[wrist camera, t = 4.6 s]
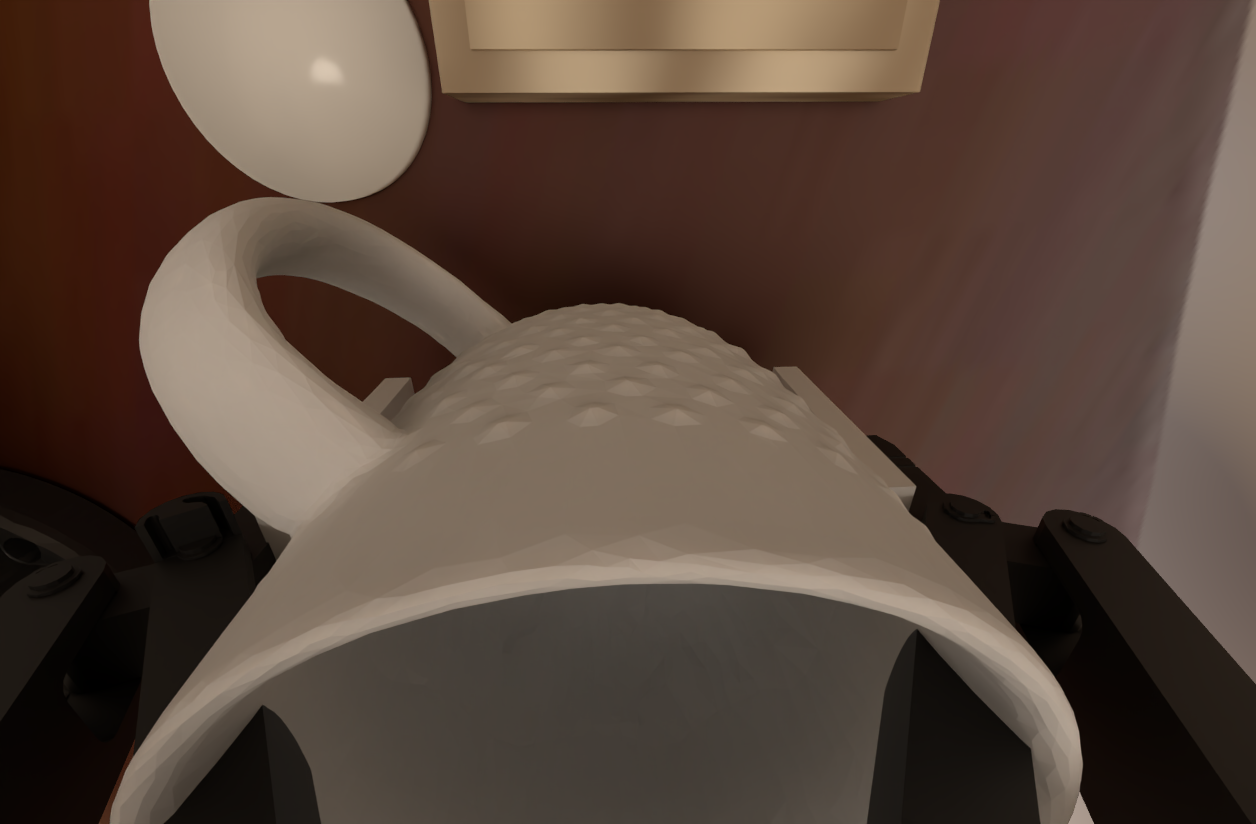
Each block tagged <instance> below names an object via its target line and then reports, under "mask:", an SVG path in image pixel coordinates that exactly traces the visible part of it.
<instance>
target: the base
mask: <svg viewBox="0 0 1256 824" xmlns="http://www.w3.org/2000/svg"><path fill="white" fill-rule="evenodd" d="M939 2H940V0H429V5H430V12H431V19H432V26H433V33H434V40H435V46H436V53H437V60H438V67H439V74H440V80H441V87H442V93H444V94H446V95H449V96H451V97H453V98H456V99H458V100H460V101H463V102H465V103H474V102H879V101H883V100H887V99H892V98H896V97H900V96H905V95H909V94H913V93H917V92H920V88H921V84H922V79H923V75H924V70H925V66H926V61H927V57H928V52H929V47H930V43H931V38H932V34H933V29H934V25H935V20H936V16H937V11H938V6H939Z"/></svg>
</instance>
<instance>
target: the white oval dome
mask: <svg viewBox="0 0 1256 824" xmlns="http://www.w3.org/2000/svg"><path fill="white" fill-rule="evenodd" d="M149 7H150V16H151V25H152V30H153V35H154V39H155V44H156V48H157V51H158V54H159V57H160V60H161V63H162V66H163V69H164V71H165V73H166V76H167V78H168V80H169V82H170V85H171V87H172V89H173V91H174V93H175V94H176V96H177V98H178V100H179V102H180V103H181V105H182V107H183V108H184V110H185V111H186V113H187V114H188V116H189V117H190V119H191V120H192V122H193V123H194V124H195V126H196V127H197V128H198V129H199V131H200V132H201V133H202V134H203V135H204V137H205V138H206V139H207V140H208V141H209V142H210V143H211V145H212V146H213V147H214V148H215V149H216V150H217V151H218V152H219V153H220V154H221V155H222V156H224V157H225V158H226V159H227V160H228V161H229V162H231V163H232V164H233V165H234V166H235V167H237V168H238V169H239V170H241V171H242V172H244V173H245V174H247V175H248V176H249V177H251V178H252V179H254V180H256V181H258V182H259V183H261V184H263V185H265V186H267V187H268V188H271V189H273V190H275V191H278V192H280V193H282V194H285V195H288V196H291V197H295V198H298V199H302V200H308V201H314V202H341V201H349V200H355V199H359V198H363V197H367V196H370V195H372V194H374V193H377V192H379V191H381V190H383V189H385V188H386V187H388V186H389V185H391V184H392V183H394V182H395V181H396V180H397V179H398V178H399V177H400V176H401V175H402V174H403V173H404V172H405V171H406V170H407V169H408V167H409V166H410V165H411V163H412V162H413V161H414V159H415V157H416V155H417V154H418V152H419V150H420V148H421V146H422V143H423V140H424V138H425V135H426V132H427V128H428V124H429V119H430V113H431V103H432V80H431V72H430V65H429V59H428V55H427V51H426V46H425V42H424V39H423V36H422V33H421V30H420V28H419V25H418V22H417V20H416V18H415V15H414V13H413V11H412V9H411V7H410V5H409V2H408V1H407V0H149Z"/></svg>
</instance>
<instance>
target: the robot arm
mask: <svg viewBox="0 0 1256 824" xmlns="http://www.w3.org/2000/svg"><path fill="white" fill-rule="evenodd" d="M773 373H775V374H776V376H777V377H778V379H779V380H780V382H781V383H782V385H783V386H784V387H785V388H786V389H787V390H789V391H791V392H792V393H794V394H796V395H798V396H800V397H802V399H803V400H804V401H805V402H806V404H807V406H808V407H809V409H810V410H811V411H812V412H813V413H814V414H815V415H816V416H817V417H818V419H820V420H821V421H823V422H824V423H826V424H827V425H829V426H831V427H832V428H834V429H835V430H836V431H837V433H838V434H839V435H840V436H841V437H842V438H843V439H844V441H845V442H846V444H847V446H848V447H849V449H850V450H851V452H852V453H853V454H854V455H855V456H856V457H857V458H858V459H859V460H860V461H862V462H863V463H864V464H865V465H866V466H868V467H869V468H870V469H871V470H873V472H874V473H876V474H877V475H878V476H880V477H881V478H882V479H883V480H884V481H885V483H886V484H887V486H888V488H889V489H891V490H893V491H894V492H895V493H896V494H897V495H898V497H899V498H900V500H901V501H902V503H903V504H904V506H905V507H906V509H907V510H908V512H909V513H910V514H911V515H912V516H913V517H914V518H916V519H917V520H919V521H920V522H921V523H923V524H924V525H925V526H926V527H927V528H928V529H929V531H930V533H931V534H932V536H933V538H934V540H935V541H936V542H937V544H938V545H939V546H940V547H941V548H942V549H943V550H944V551H945V552H946V553H947V554H948V555H949V557H950V558H951V559H952V560H953V561H954V562H955V563H956V564H957V565H958V566H959V567H960V568H961V570H962V571H963V572H964V573H965V574H966V575H967V576H968V577H969V578H970V579H971V580H972V582H973V583H974V584H975V585H976V586H977V587H978V588H979V589H980V590H981V592H982V593H983V594H984V595H985V596H986V597H987V598H988V599H989V600H990V602H991V603H992V604H993V605H994V606H995V607H996V608H997V609H998V610H999V612H1000V613H1001V614H1002V615H1003V616H1004V617H1005V618H1006V619H1007V620H1008V622H1009V623H1010V624H1011V625H1012V626H1013V627H1014V628H1015V629H1016V630H1017V632H1018V633H1019V634H1020V635H1021V636H1022V637H1023V638H1024V639H1025V640H1026V642H1027V643H1028V644H1029V645H1030V646H1031V647H1032V648H1033V650H1034V651H1035V652H1036V653H1037V655H1038V656H1039V657H1040V658H1041V660H1042V661H1043V662H1044V663H1045V665H1046V666H1047V667H1048V668H1049V670H1050V671H1051V672H1052V674H1053V675H1054V677H1055V679H1056V680H1057V682H1058V683H1059V685H1060V686H1061V688H1062V690H1063V692H1064V694H1065V696H1066V698H1067V700H1068V702H1069V704H1070V706H1071V708H1072V710H1073V712H1074V716H1075V719H1076V723H1077V726H1078V730H1079V735H1080V747H1081V754H1082V761H1083V768H1082V777H1081V783H1080V793H1081V796H1082V798H1083V800H1084V802H1085V804H1086V807H1087V809H1088V811H1089V813H1090V816H1091V818H1092V820H1093V822H1094V824H1256V684H1255V683H1254V682H1253V681H1252V680H1251V678H1250V677H1249V676H1248V675H1247V674H1246V673H1245V672H1244V671H1243V669H1242V668H1241V667H1240V666H1239V665H1238V664H1237V663H1236V661H1235V660H1234V659H1233V658H1232V657H1231V656H1230V655H1229V653H1227V651H1226V650H1225V649H1224V648H1223V647H1222V646H1221V644H1220V643H1219V642H1218V641H1217V640H1216V639H1215V638H1214V637H1213V635H1212V634H1211V633H1210V632H1209V631H1208V630H1207V628H1206V627H1205V626H1204V625H1203V624H1202V623H1201V622H1200V620H1198V618H1197V617H1196V616H1195V615H1194V614H1193V613H1192V612H1191V610H1190V609H1189V608H1188V607H1187V606H1186V605H1185V603H1184V602H1183V601H1182V600H1181V599H1180V598H1179V597H1178V596H1177V595H1176V593H1175V592H1174V591H1173V590H1172V589H1171V588H1170V586H1169V585H1168V584H1167V583H1166V582H1165V581H1164V580H1163V579H1162V577H1161V576H1160V575H1159V574H1158V573H1157V572H1156V571H1155V569H1154V568H1153V567H1152V566H1151V565H1150V564H1149V563H1148V562H1147V560H1146V559H1145V558H1144V557H1143V556H1142V555H1141V553H1140V552H1139V551H1138V550H1137V549H1136V548H1135V547H1134V546H1133V544H1132V543H1131V542H1130V541H1129V540H1128V539H1127V538H1126V537H1125V536H1124V535H1123V534H1122V533H1121V532H1120V531H1118V530H1117V529H1116V528H1114V527H1113V526H1111V525H1109V524H1107V523H1105V522H1104V521H1102V520H1101V519H1099V518H1097V517H1094V516H1093V517H1092V516H1091V515H1089V514H1085V513H1082V512H1080V513H1079V512H1075V511H1071V510H1057V509H1055V510H1051V511H1047V512H1046V513H1045V515H1044V516H1043V518H1042V520H1041V522H1040V524H1039V526H1038V528H1037V527H1031V526H1024V525H1018V524H1011V523H1005V522H1001V520H1000V518H999V516H998V514H996V513H995V512H994V511H993V510H992V509H991V508H990V507H988V506H986V505H984V504H982V503H981V502H979V501H977V500H974V499H971V498H968V497H965V496H961V495H956V494H946V493H945V492H944V491H943V490H942V489H941V488H940V487H938V486H937V485H936V484H935V483H934V482H933V481H932V480H931V479H930V478H929V477H928V476H927V475H926V474H925V473H924V472H922V471H921V470H920V469H919V468H918V467H915V464H914V463H913V462H912V461H911V460H910V459H909V458H906V456H905V455H904V454H903V453H902V452H901V451H900V450H899V449H898V448H897V447H896V446H895V445H893V444H892V443H890V442H888V441H886V440H884V439H882V438H880V437H878V436H877V435H869V436H866V435H865V434H864V433H863V432H862V431H861V430H860V429H859V428H858V427H857V426H856V425H855V424H854V423H853V422H852V421H851V420H850V419H849V418H848V417H847V416H846V415H845V414H844V413H843V412H842V411H841V410H840V409H839V408H838V407H837V406H836V405H835V404H834V403H833V402H832V401H831V400H830V399H829V398H828V397H827V396H826V395H825V394H824V393H823V392H822V391H821V390H820V389H819V388H818V387H817V386H816V385H815V384H814V383H813V382H812V381H811V380H810V379H809V378H808V377H807V376H806V375H805V374H804V373H803V372H802V371H801V370H800V369H799V368H798V367H773ZM413 395H414V389H413V385H412V380H411V378H385V379H384V380H383V381H382V382H381V383H380V384H379V386H378V387H377V388H376V389H375V390H374V391H373V392H372V393H371V394H370V395H369V396H368V397H367V398H366V399H365V400H364V401H363V403H365V404H366V405H368V406H369V407H371V408H372V409H373V410H375V411H376V412H378V413H379V414H381V415H382V416H384V417H385V418H386V419H388V420H389V421H391V420H392V419H393V418H394V417H395V416H396V415H397V414H398V413H399V412H400V411H401V409H402V408H403V406H404V405H405V403H406V401H407V400H408V399H409V398H410V397H411V396H413ZM134 528H135V530H136V531H137V532H136V531H134V530H133V529H132V528H131V527H129V526H128V525H126V524H125V523H124V522H122V521H121V520H119V519H118V518H116V517H115V516H113V515H112V514H110V513H108V512H107V511H105V510H103V509H102V508H100V507H98V506H97V505H95V504H93V503H91V502H89V501H87V500H85V499H83V498H81V497H79V496H77V495H75V494H73V493H71V492H69V491H66V490H64V489H61V488H59V487H57V486H54V485H52V484H49V483H46V482H43V481H41V480H38V479H35V478H32V477H28V476H25V475H22V474H18V473H14V472H11V471H7V470H2V469H0V824H99V821H100V819H101V817H102V814H103V812H104V810H105V807H106V805H107V803H108V800H109V798H110V796H111V793H112V791H113V789H114V786H115V784H116V782H117V779H118V777H119V775H120V772H121V770H122V768H123V765H124V763H125V761H126V758H127V756H128V754H129V751H130V749H131V747H132V744H133V742H134V740H135V746H134V755H135V754H136V752H137V751H138V749H139V748H140V746H141V745H142V743H143V742H144V740H145V739H146V737H147V736H148V734H149V733H150V731H151V729H152V728H153V726H154V725H155V723H156V722H157V720H158V719H159V717H160V716H161V714H162V713H163V711H164V710H165V709H166V707H167V706H168V705H169V703H170V702H171V701H172V699H173V698H174V697H175V695H176V694H177V693H178V691H179V690H180V689H181V687H182V686H183V685H184V683H185V682H186V681H187V679H188V678H189V677H190V675H191V674H192V673H193V671H194V670H195V669H196V667H197V666H198V665H199V663H200V662H201V661H202V660H203V658H204V657H205V656H206V654H207V653H208V652H209V650H210V649H211V648H212V646H213V645H214V644H215V642H216V641H217V640H218V638H219V637H220V636H221V634H222V633H223V632H224V630H225V629H226V628H227V626H228V625H229V624H230V622H231V621H232V620H233V619H234V617H235V616H236V615H237V613H238V612H239V611H240V609H241V608H242V607H243V606H244V604H245V603H246V602H247V600H248V599H249V598H250V596H251V595H252V594H253V593H254V591H255V589H256V587H257V585H258V584H259V583H260V582H261V581H262V579H263V578H264V577H265V576H266V575H267V574H268V573H269V571H270V570H271V568H272V567H273V565H274V564H275V562H276V561H277V560H278V558H279V557H280V555H281V554H282V552H283V551H284V549H285V548H286V546H287V545H288V543H289V542H290V541H291V537H290V535H289V534H287V533H284V532H282V531H280V530H277V529H275V528H274V527H272V526H270V525H269V524H267V523H266V522H264V521H263V520H261V519H260V518H258V517H256V516H255V515H253V514H252V513H251V512H250V511H249V510H248V509H247V508H246V507H244V506H243V507H242V508H241V509H240V510H239V511H238V512H237V513H235V514H233V512H232V510H231V508H230V505H229V503H228V501H227V499H226V498H225V496H224V495H223V494H220V493H216V492H199V493H195V494H190V495H185V496H182V497H179V498H176V499H174V500H171V501H168V502H166V503H164V504H162V505H160V506H158V507H156V508H154V509H152V510H150V511H149V512H148V513H147V514H145V515H144V516H143V517H142V518H140V519H139V521H138V522H137V524H136V526H135V527H134ZM134 755H133V757H134ZM164 824H321V820H320V815H319V809H318V804H317V799H316V793H315V788H314V783H313V777H312V772H311V769H310V766H309V764H308V762H307V760H306V758H305V756H304V754H303V752H302V750H301V748H300V746H299V744H298V743H297V741H296V739H295V738H294V736H293V735H292V733H291V732H290V730H289V729H288V727H287V726H286V724H285V723H284V722H283V720H282V719H281V718H280V717H279V716H278V715H277V714H276V713H275V712H274V711H272V710H270V709H268V708H267V707H266V706H264V705H262V706H261V707H260V709H259V710H258V711H257V713H256V714H255V715H254V717H253V718H252V719H251V720H250V722H249V723H248V724H247V725H246V727H245V728H244V729H243V730H242V732H241V733H240V734H239V735H238V737H237V738H236V739H235V740H234V742H233V743H232V744H231V745H230V747H229V748H228V749H227V750H226V752H225V753H224V754H223V755H222V757H221V758H220V759H219V760H218V762H217V763H216V764H215V765H214V766H213V768H212V769H211V770H210V771H209V772H208V773H207V775H206V776H205V777H204V778H203V779H202V780H201V782H200V783H199V784H198V785H197V786H196V788H195V789H194V790H193V791H192V792H191V794H190V795H189V796H188V797H187V798H186V800H185V801H184V802H183V803H182V804H181V806H180V807H179V808H178V809H177V811H176V812H175V813H174V814H173V815H172V816H171V817H170V818H169V819H168V820H167V821H166V822H165V823H164ZM867 824H1041V823H1040V815H1039V807H1038V800H1037V792H1036V784H1035V776H1034V768H1033V761H1032V753H1031V748H1030V747H1029V746H1028V745H1026V744H1025V743H1024V742H1023V741H1022V740H1021V739H1020V738H1019V737H1018V736H1017V735H1016V734H1015V733H1014V732H1013V731H1012V730H1011V729H1010V728H1009V727H1008V726H1007V725H1006V724H1005V723H1004V722H1003V721H1002V720H1001V719H1000V718H999V717H998V716H997V715H996V714H995V713H994V712H993V711H992V710H991V709H990V708H989V707H988V706H987V705H986V704H985V703H984V702H983V701H982V700H981V699H980V698H979V697H978V696H977V695H976V694H975V693H974V692H973V691H972V689H971V688H970V687H969V686H968V685H967V684H966V683H965V682H964V681H963V680H962V679H961V678H960V676H959V675H958V674H957V673H956V672H955V671H954V670H953V669H952V668H951V667H950V666H949V665H948V663H947V662H946V661H945V660H944V659H943V658H942V657H941V656H940V655H939V654H938V653H937V652H936V650H935V649H934V648H933V647H932V646H931V644H930V643H929V642H928V641H927V640H926V639H925V637H924V636H923V635H922V634H921V633H920V632H919V630H918V629H916V630H915V631H913V632H912V634H911V635H910V636H909V637H908V638H907V640H906V642H905V643H904V645H903V647H902V649H901V651H900V653H899V655H898V657H897V659H896V661H895V664H894V666H893V669H892V671H891V674H890V677H889V679H888V682H887V685H886V688H885V691H884V698H883V706H882V713H881V721H880V728H879V736H878V743H877V750H876V758H875V765H874V773H873V780H872V788H871V795H870V803H869V810H868V817H867Z"/></svg>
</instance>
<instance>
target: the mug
mask: <svg viewBox="0 0 1256 824" xmlns="http://www.w3.org/2000/svg"><path fill="white" fill-rule="evenodd" d="M271 275H289V276H298V277H305V278H310V279H314V280H318V281H321V282H325V283H328V284H331V285H334V286H336V287H339V288H341V289H344V290H346V291H349V292H351V293H354V294H356V295H358V296H361V297H363V298H366V299H368V300H370V301H372V302H374V303H376V304H379V305H381V306H382V307H384V308H386V309H388V310H390V311H391V312H393V313H395V314H397V315H399V316H400V317H402V318H404V319H405V320H407V321H409V322H411V323H412V324H414V325H416V326H417V327H419V328H420V329H421V330H423V331H424V332H426V333H427V334H429V335H430V336H431V337H433V338H434V339H435V340H436V341H437V342H439V343H440V344H441V345H443V346H444V347H446V348H447V349H448V350H449V351H450V352H451V353H452V354H453V355H454V356H456V357H457V358H456V359H455V360H454V362H453V363H451V364H450V365H448V366H447V367H446V368H444V369H442V370H440V371H439V372H437V373H436V374H434V375H433V376H432V377H431V379H430V380H429V382H428V383H427V385H426V386H425V387H424V388H423V389H422V390H420V391H419V392H417V393H416V394H414V395H413V396H411V397H410V398H409V399H408V400H407V401H406V403H405V405H404V406H403V408H402V409H401V411H400V412H399V413H398V414H397V415H396V416H395V417H394V418H393V419H392V420H391V421H389V420H388V419H386V418H385V417H384V416H382V415H381V414H379V413H378V412H376V411H375V410H373V409H372V408H371V407H369V406H368V405H366V404H365V403H363V402H362V401H360V400H359V399H357V398H356V397H354V396H353V395H351V394H350V393H348V392H347V391H346V390H344V389H343V388H341V387H340V386H338V385H337V384H335V383H334V382H333V381H331V380H330V379H329V378H327V377H326V376H325V375H324V374H323V373H322V372H321V371H320V370H318V369H317V368H316V367H315V366H314V365H313V364H312V363H311V362H310V361H308V360H307V359H306V358H305V357H304V356H303V355H302V354H301V353H299V352H298V351H297V350H296V349H295V348H294V347H293V346H292V345H291V344H289V343H288V342H287V341H286V340H285V338H284V336H283V335H282V333H281V331H280V330H279V329H278V327H277V326H276V325H275V323H274V322H273V321H272V319H271V318H270V317H269V315H268V314H267V313H266V311H265V308H264V306H263V304H262V301H261V297H260V292H259V290H258V288H257V281H256V278H260V277H264V276H271ZM139 345H140V352H141V357H142V361H143V365H144V369H145V372H146V374H147V377H148V380H149V383H150V386H151V388H152V391H153V393H154V395H155V396H156V398H157V400H158V402H159V404H160V405H161V407H162V409H163V411H164V413H165V414H166V416H167V418H168V420H169V422H170V424H171V425H172V427H173V428H174V430H175V431H176V432H177V434H178V435H179V437H180V438H181V439H182V441H183V442H184V443H185V445H186V446H187V448H188V449H189V450H190V452H191V453H192V454H193V456H194V457H195V459H196V460H197V461H198V462H199V463H200V464H201V465H202V466H203V467H204V468H205V470H206V471H207V472H208V473H209V474H210V475H211V476H212V477H213V478H214V479H215V480H216V481H217V482H218V483H219V484H220V485H221V486H222V487H223V488H224V489H225V490H227V491H228V492H229V493H230V494H231V495H232V496H233V497H234V498H235V499H237V500H238V501H239V502H240V503H241V504H242V505H243V506H244V507H246V508H247V509H248V510H249V511H250V512H251V513H252V514H253V515H255V516H256V517H258V518H260V519H261V520H263V521H264V522H266V523H267V524H269V525H270V526H272V527H274V528H275V529H277V530H280V531H282V532H284V533H287V534H289V535H290V537H291V541H290V542H289V543H288V545H287V546H286V548H285V549H284V551H283V552H282V554H281V555H280V557H279V558H278V560H277V561H276V562H275V564H274V565H273V567H272V568H271V570H270V571H269V573H268V574H267V575H266V576H265V577H264V578H263V579H262V581H261V582H260V583H259V584H258V585H257V587H256V589H255V591H254V593H253V594H252V595H251V596H250V598H249V599H248V600H247V602H246V603H245V604H244V606H243V607H242V608H241V609H240V611H239V612H238V613H237V615H236V616H235V617H234V619H233V620H232V621H231V622H230V624H229V625H228V626H227V628H226V629H225V630H224V632H223V633H222V634H221V636H220V637H219V638H218V640H217V641H216V642H215V644H214V645H213V646H212V648H211V649H210V650H209V652H208V653H207V654H206V656H205V657H204V658H203V660H202V661H201V662H200V663H199V665H198V666H197V667H196V669H195V670H194V671H193V673H192V674H191V675H190V677H189V678H188V679H187V681H186V682H185V683H184V685H183V686H182V687H181V689H180V690H179V691H178V693H177V694H176V695H175V697H174V698H173V699H172V701H171V702H170V703H169V705H168V706H167V707H166V709H165V710H164V711H163V713H162V714H161V716H160V717H159V719H158V720H157V722H156V723H155V725H154V726H153V728H152V729H151V731H150V733H149V734H148V736H147V737H146V739H145V740H144V742H143V743H142V745H141V746H140V748H139V749H138V751H137V752H136V754H135V755H134V757H133V759H132V760H131V762H130V764H129V766H128V768H127V769H126V771H125V774H124V777H123V780H122V782H121V785H120V787H119V790H118V792H117V795H116V798H115V800H114V803H113V805H112V810H111V816H110V824H164V823H165V822H166V821H167V820H168V819H169V818H170V817H171V816H172V815H173V814H174V813H175V812H176V811H177V809H178V808H179V807H180V806H181V804H182V803H183V802H184V801H185V800H186V798H187V797H188V796H189V795H190V794H191V792H192V791H193V790H194V789H195V788H196V786H197V785H198V784H199V783H200V782H201V780H202V779H203V778H204V777H205V776H206V775H207V773H208V772H209V771H210V770H211V769H212V768H213V766H214V765H215V764H216V763H217V762H218V760H219V759H220V758H221V757H222V755H223V754H224V753H225V752H226V750H227V749H228V748H229V747H230V745H231V744H232V743H233V742H234V740H235V739H236V738H237V737H238V735H239V734H240V733H241V732H242V730H243V729H244V728H245V727H246V725H247V724H248V723H249V722H250V720H251V719H252V718H253V717H254V715H255V714H256V713H257V711H258V710H259V709H260V707H261V706H262V705H264V706H266V707H267V708H268V709H270V710H272V711H274V712H275V713H276V714H277V715H278V716H279V717H280V718H281V719H282V720H283V722H284V723H285V724H286V726H287V727H288V729H289V730H290V732H291V733H292V735H293V736H294V738H295V739H296V741H297V743H298V744H299V746H300V748H301V750H302V752H303V754H304V756H305V758H306V760H307V762H308V764H309V766H310V769H311V772H312V777H313V783H314V788H315V793H316V799H317V804H318V809H319V815H320V820H321V824H867V817H868V810H869V803H870V795H871V788H872V780H873V773H874V765H875V758H876V750H877V743H878V736H879V728H880V721H881V713H882V706H883V698H884V691H885V688H886V685H887V682H888V679H889V677H890V674H891V671H892V669H893V666H894V664H895V661H896V659H897V657H898V655H899V653H900V651H901V649H902V647H903V645H904V643H905V642H906V640H907V638H908V637H909V636H910V635H911V634H912V632H913V631H915V630H916V629H918V630H919V632H920V633H921V634H922V635H923V636H924V637H925V639H926V640H927V641H928V642H929V643H930V644H931V646H932V647H933V648H934V649H935V650H936V652H937V653H938V654H939V655H940V656H941V657H942V658H943V659H944V660H945V661H946V662H947V663H948V665H949V666H950V667H951V668H952V669H953V670H954V671H955V672H956V673H957V674H958V675H959V676H960V678H961V679H962V680H963V681H964V682H965V683H966V684H967V685H968V686H969V687H970V688H971V689H972V691H973V692H974V693H975V694H976V695H977V696H978V697H979V698H980V699H981V700H982V701H983V702H984V703H985V704H986V705H987V706H988V707H989V708H990V709H991V710H992V711H993V712H994V713H995V714H996V715H997V716H998V717H999V718H1000V719H1001V720H1002V721H1003V722H1004V723H1005V724H1006V725H1007V726H1008V727H1009V728H1010V729H1011V730H1012V731H1013V732H1014V733H1015V734H1016V735H1017V736H1018V737H1019V738H1020V739H1021V740H1022V741H1023V742H1024V743H1025V744H1026V745H1028V746H1029V747H1030V748H1031V753H1032V761H1033V768H1034V776H1035V784H1036V792H1037V800H1038V807H1039V815H1040V823H1041V824H1068V822H1069V820H1070V818H1071V816H1072V814H1073V811H1074V808H1075V805H1076V801H1077V798H1078V795H1079V792H1080V783H1081V777H1082V768H1083V761H1082V754H1081V747H1080V735H1079V730H1078V726H1077V723H1076V719H1075V716H1074V712H1073V710H1072V708H1071V706H1070V704H1069V702H1068V700H1067V698H1066V696H1065V694H1064V692H1063V690H1062V688H1061V686H1060V685H1059V683H1058V682H1057V680H1056V679H1055V677H1054V675H1053V674H1052V672H1051V671H1050V670H1049V668H1048V667H1047V666H1046V665H1045V663H1044V662H1043V661H1042V660H1041V658H1040V657H1039V656H1038V655H1037V653H1036V652H1035V651H1034V650H1033V648H1032V647H1031V646H1030V645H1029V644H1028V643H1027V642H1026V640H1025V639H1024V638H1023V637H1022V636H1021V635H1020V634H1019V633H1018V632H1017V630H1016V629H1015V628H1014V627H1013V626H1012V625H1011V624H1010V623H1009V622H1008V620H1007V619H1006V618H1005V617H1004V616H1003V615H1002V614H1001V613H1000V612H999V610H998V609H997V608H996V607H995V606H994V605H993V604H992V603H991V602H990V600H989V599H988V598H987V597H986V596H985V595H984V594H983V593H982V592H981V590H980V589H979V588H978V587H977V586H976V585H975V584H974V583H973V582H972V580H971V579H970V578H969V577H968V576H967V575H966V574H965V573H964V572H963V571H962V570H961V568H960V567H959V566H958V565H957V564H956V563H955V562H954V561H953V560H952V559H951V558H950V557H949V555H948V554H947V553H946V552H945V551H944V550H943V549H942V548H941V547H940V546H939V545H938V544H937V542H936V541H935V540H934V538H933V536H932V534H931V533H930V531H929V529H928V528H927V527H926V526H925V525H924V524H923V523H921V522H920V521H919V520H917V519H916V518H914V517H913V516H912V515H911V514H910V513H909V512H908V510H907V509H906V507H905V506H904V504H903V503H902V501H901V500H900V498H899V497H898V495H897V494H896V493H895V492H894V491H893V490H891V489H889V488H888V486H887V484H886V483H885V481H884V480H883V479H882V478H881V477H880V476H878V475H877V474H876V473H874V472H873V470H871V469H870V468H869V467H868V466H866V465H865V464H864V463H863V462H862V461H860V460H859V459H858V458H857V457H856V456H855V455H854V454H853V453H852V452H851V450H850V449H849V447H848V446H847V444H846V442H845V441H844V439H843V438H842V437H841V436H840V435H839V434H838V433H837V431H836V430H835V429H834V428H832V427H831V426H829V425H827V424H826V423H824V422H823V421H821V420H820V419H818V417H817V416H816V415H815V414H814V413H813V412H812V411H811V410H810V409H809V407H808V406H807V404H806V402H805V401H804V400H803V399H802V397H800V396H798V395H796V394H794V393H792V392H791V391H789V390H787V389H786V388H785V387H784V386H783V385H782V383H781V382H780V380H779V379H778V377H777V376H776V374H775V373H773V372H771V371H769V370H767V369H765V368H763V367H760V366H759V365H757V364H756V363H755V362H754V361H752V360H751V358H750V357H749V355H748V354H747V353H746V351H745V350H744V349H742V348H740V347H737V346H733V345H730V344H728V343H726V342H725V341H724V340H723V339H722V338H720V337H719V336H718V335H717V334H716V333H715V332H713V331H709V330H706V329H705V328H702V327H697V326H696V325H695V324H692V323H690V322H689V321H687V320H686V319H684V318H681V317H677V316H673V315H668V314H667V313H665V312H663V311H661V310H651V309H649V308H647V307H638V306H628V305H625V304H622V303H615V304H610V305H609V304H604V303H599V304H595V305H588V304H580V305H577V306H574V307H563V308H560V309H557V310H546V311H544V312H542V313H540V314H538V315H535V316H533V317H528V318H523V319H522V320H520V321H517V322H514V323H513V324H512V323H510V322H509V321H508V320H507V319H506V318H505V317H504V316H503V315H501V314H500V313H499V312H498V311H496V310H495V309H494V308H492V307H491V306H490V305H488V304H487V303H486V302H485V301H483V300H482V299H481V298H480V297H479V296H477V295H476V294H475V293H474V292H473V291H472V290H470V289H469V288H468V287H467V286H466V285H465V284H463V283H462V282H461V281H460V280H459V279H457V278H456V277H454V276H453V275H451V274H450V273H449V272H447V271H446V270H444V269H443V268H442V267H440V266H439V265H437V264H436V263H434V262H433V261H432V260H430V259H429V258H427V257H426V256H424V255H423V254H421V253H420V252H418V251H417V250H415V249H414V248H412V247H411V246H409V245H407V244H406V243H404V242H402V241H401V240H399V239H398V238H396V237H394V236H392V235H391V234H389V233H387V232H386V231H384V230H382V229H380V228H378V227H376V226H375V225H373V224H371V223H369V222H367V221H365V220H363V219H360V218H358V217H356V216H354V215H351V214H349V213H346V212H343V211H341V210H338V209H335V208H332V207H330V206H327V205H324V204H321V203H316V202H311V201H306V200H298V199H290V198H277V197H264V198H255V199H250V200H246V201H241V202H238V203H236V204H233V205H231V206H229V207H226V208H224V209H221V210H219V211H217V212H215V213H213V214H211V215H209V216H208V217H207V218H206V219H204V220H203V221H202V222H201V223H199V224H198V225H197V226H195V227H194V228H193V229H192V230H190V231H189V232H188V233H187V234H186V235H185V236H184V237H183V238H182V239H181V240H180V241H179V243H178V244H177V245H176V246H175V247H174V248H173V249H172V250H171V251H170V252H169V253H168V254H167V256H166V257H165V259H164V261H163V262H162V264H161V266H160V267H159V269H158V271H157V273H156V274H155V276H154V278H153V279H152V281H151V283H150V285H149V288H148V292H147V295H146V298H145V302H144V305H143V309H142V312H141V323H140V335H139Z"/></svg>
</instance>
